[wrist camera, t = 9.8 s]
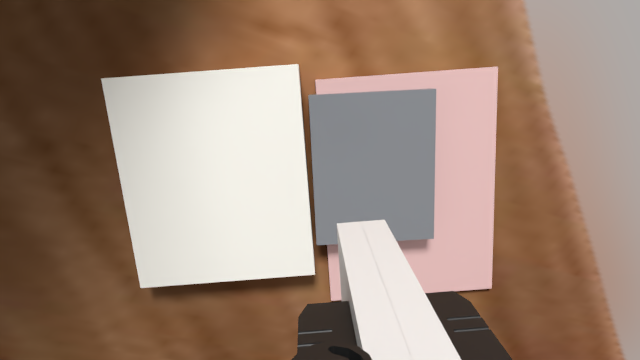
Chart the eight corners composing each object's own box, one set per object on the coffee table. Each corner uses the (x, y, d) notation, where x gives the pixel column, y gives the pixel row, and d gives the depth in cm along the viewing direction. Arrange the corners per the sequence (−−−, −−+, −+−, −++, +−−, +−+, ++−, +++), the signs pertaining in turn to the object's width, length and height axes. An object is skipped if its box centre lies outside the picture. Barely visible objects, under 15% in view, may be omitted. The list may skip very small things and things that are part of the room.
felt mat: (315, 79, 27) (315, 79, 27) (495, 66, 28) (497, 66, 27) (330, 298, 31) (331, 300, 31) (489, 285, 31) (491, 288, 31)
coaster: (308, 94, 27) (308, 95, 26) (429, 88, 27) (436, 88, 26) (316, 237, 30) (316, 245, 28) (427, 231, 30) (434, 238, 28)
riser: (115, 78, 27) (100, 78, 25) (298, 65, 27) (298, 64, 25) (151, 274, 30) (140, 287, 28) (314, 262, 30) (315, 274, 28)
